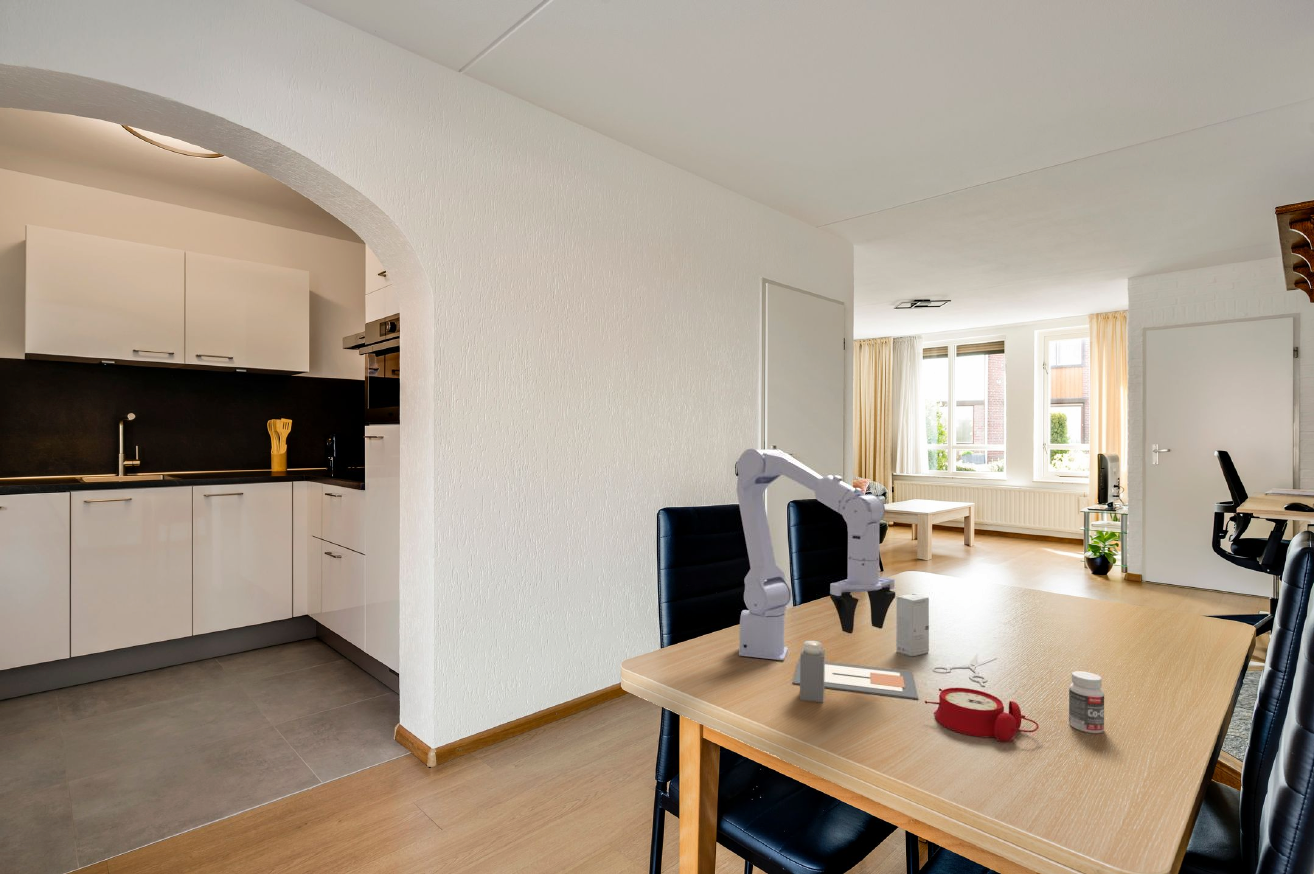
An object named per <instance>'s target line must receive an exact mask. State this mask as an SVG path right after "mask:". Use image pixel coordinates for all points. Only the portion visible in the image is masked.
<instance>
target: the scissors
mask: <svg viewBox="0 0 1314 874" xmlns="http://www.w3.org/2000/svg"><path fill="white" fill-rule="evenodd" d="M997 659H998V657H996V658H992V659H988V660H984V661H980V662H979V661H978V653H976V655H974V657H973V658H972V659H971V661H970V662H969V663H966V664H964V665H960V666H950V667H948V666H947V667H945V666H934V667H932V668H931V669H932V672H933V673H934V672H935V673H938V674H949V673H951V672H952V670H956V669H958V670H959V669H962V670H963V669H965V670H967V669H969V670H970V671H972V672H973V673H974V674H970V675H968V679H969V680H971V681H973V682H974V683H978V684H979V685H980V687H982V688H985V687H986V684H984V683H987V682H988V678H987V677H986V676H983V675H981V674H979V673H980V672H979V671H978V670H976V668H977V667H979V666H980V667H981V666H983V665H985V664H988V663H991V662H992V661H995V660H997ZM937 669H938V670H937ZM939 669H942V671H939ZM943 670H944V671H943ZM976 678H979V679H983V680H978V679H976Z"/></svg>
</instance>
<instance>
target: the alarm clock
mask: <svg viewBox="0 0 1314 874" xmlns="http://www.w3.org/2000/svg"><path fill="white" fill-rule="evenodd" d="M938 691H939V692H940V693H939V696H938V699H939V701H938V702H937V701H928V700H924V704H926V705H928V704H932V705H937V708H936V710H935V711H934V712H933V714H934V718H935V719H936V721H937V722H938V723H939V724H940V725H941V726H944V727H945V728H947V729H949V730H952V731H954V732H958V733H961V734H964V735H968V736H972V737H980V738H995V739H996V740H997V741H998V742H1003V743H1008V742H1010V741H1012V740H1013V738H1014V737H1015V735H1016V734H1017V733H1016V732H1023V733H1036V731H1038V730H1039V724H1038V722H1036V721H1035V720H1032V719H1031V718H1026V715H1023V714H1022V710H1021V708H1020V706H1019V704H1018V703H1017V702H1016V701H1014V700H1013V701H1012V700H1009V702H1008V712H1005V706H1004V704H1003V703H1004V702H1002V700H1001V699H999V697H997V696H995V695H993V694H990V693H988V692H984V691H982V690H977V689H973V688H967V687H949V688H944V689H942V688H938ZM1022 719H1023V720H1025V721H1027V722H1028V721H1029V722H1031V723H1033V724H1035V725H1036V727H1035V729H1033V730H1028V729H1027V730H1026V729H1020V728H1021V726H1022Z"/></svg>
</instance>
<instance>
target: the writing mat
mask: <svg viewBox="0 0 1314 874" xmlns="http://www.w3.org/2000/svg"><path fill="white" fill-rule="evenodd" d="M792 685H798V686H800V658H799V659H798V662H797V666H796V670H795V673H794V676H793V679H792ZM825 689H831V690H839V691H848V692H855V693H863V694H871V695H879V696H888V697H897V698H904V699H911V700H919V695H918V691H917V687H916V681H915V677H914V673H913V671H912V670H902V669H893V668H886V667H874V666H869V665H868V666H866V665H857V664H851V663H850V664H849V663H841V662H831V661H825Z"/></svg>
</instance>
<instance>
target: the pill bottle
mask: <svg viewBox="0 0 1314 874" xmlns="http://www.w3.org/2000/svg"><path fill="white" fill-rule="evenodd" d="M1102 683H1103V682H1102V677H1101V676H1100V675H1098V674H1095V673H1092V672H1088V671H1083V670H1081V671H1080V670H1077V671H1073V672H1072V673H1071V684H1069V688H1068V689H1069V690H1068V693H1069V694H1068V723H1069V725H1070V726H1071V727H1072V728H1074V729H1076V730H1078V731H1081V732H1084V733H1088V734H1100V733H1103V732H1104V730H1105V692H1104V690H1103V689H1102V686H1103V684H1102Z"/></svg>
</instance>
